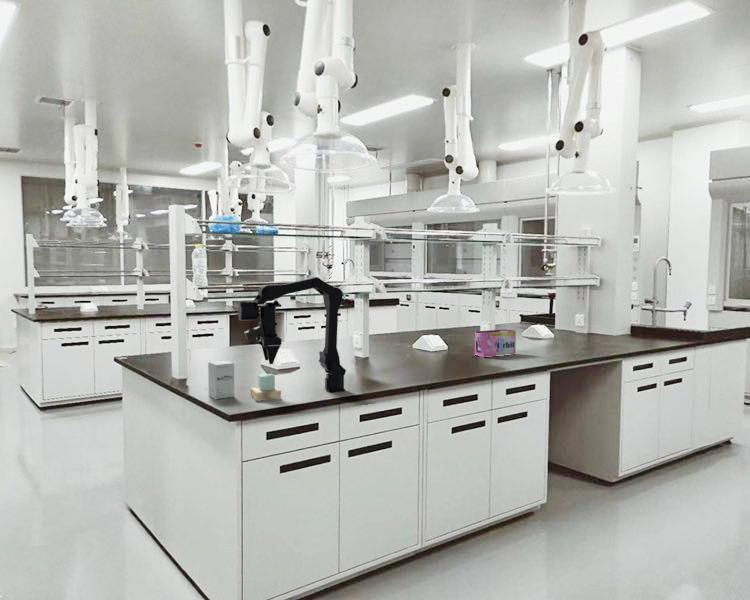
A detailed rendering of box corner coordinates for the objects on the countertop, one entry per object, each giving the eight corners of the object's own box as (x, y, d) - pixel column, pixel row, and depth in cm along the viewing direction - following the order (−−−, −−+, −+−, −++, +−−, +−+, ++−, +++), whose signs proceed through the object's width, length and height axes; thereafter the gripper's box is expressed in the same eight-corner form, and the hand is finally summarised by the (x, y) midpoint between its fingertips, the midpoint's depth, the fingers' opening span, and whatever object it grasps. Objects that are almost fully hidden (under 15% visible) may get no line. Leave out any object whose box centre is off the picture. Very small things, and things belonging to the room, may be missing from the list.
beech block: (274, 395, 207) (274, 385, 207) (280, 400, 199) (280, 390, 199) (250, 397, 203) (250, 387, 203) (255, 402, 195) (255, 392, 195)
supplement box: (215, 399, 197) (214, 364, 197) (208, 396, 203) (207, 362, 203) (235, 397, 202) (234, 362, 201) (227, 393, 208) (227, 360, 207)
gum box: (481, 358, 290) (481, 332, 290) (472, 356, 297) (472, 331, 296) (515, 355, 302) (516, 330, 301) (505, 353, 309) (506, 329, 308)
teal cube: (272, 387, 204) (272, 373, 204) (274, 389, 200) (274, 376, 199) (258, 388, 203) (258, 374, 202) (260, 390, 198) (260, 377, 198)
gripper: (242, 318, 207) (243, 359, 208) (249, 322, 189) (250, 367, 190) (271, 317, 211) (272, 357, 212) (281, 321, 193) (282, 365, 194)
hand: (268, 362), depth 202 cm, fingers open, 9 cm apart
